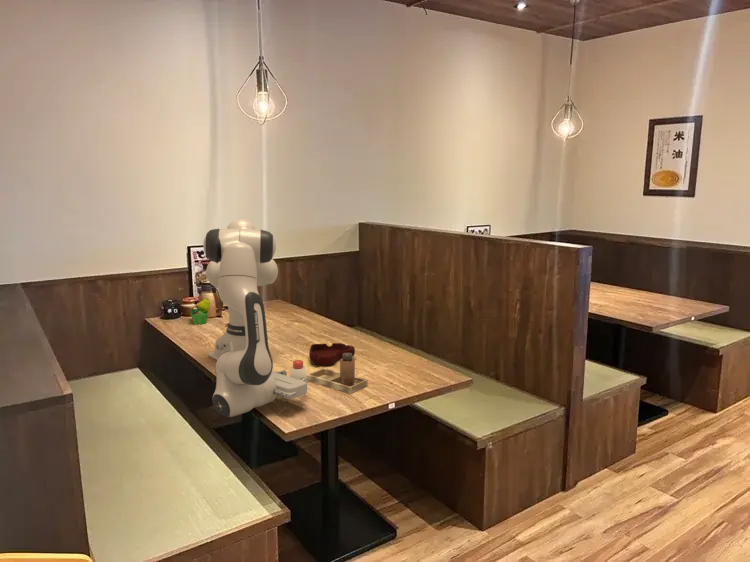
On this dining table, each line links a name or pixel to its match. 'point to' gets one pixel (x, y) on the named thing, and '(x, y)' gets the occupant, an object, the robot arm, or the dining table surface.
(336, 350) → the ashtray
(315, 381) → the caddy
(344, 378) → the brown soy bottle
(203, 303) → the fruit basket
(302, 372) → the white shaker
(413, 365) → the dining table surface
